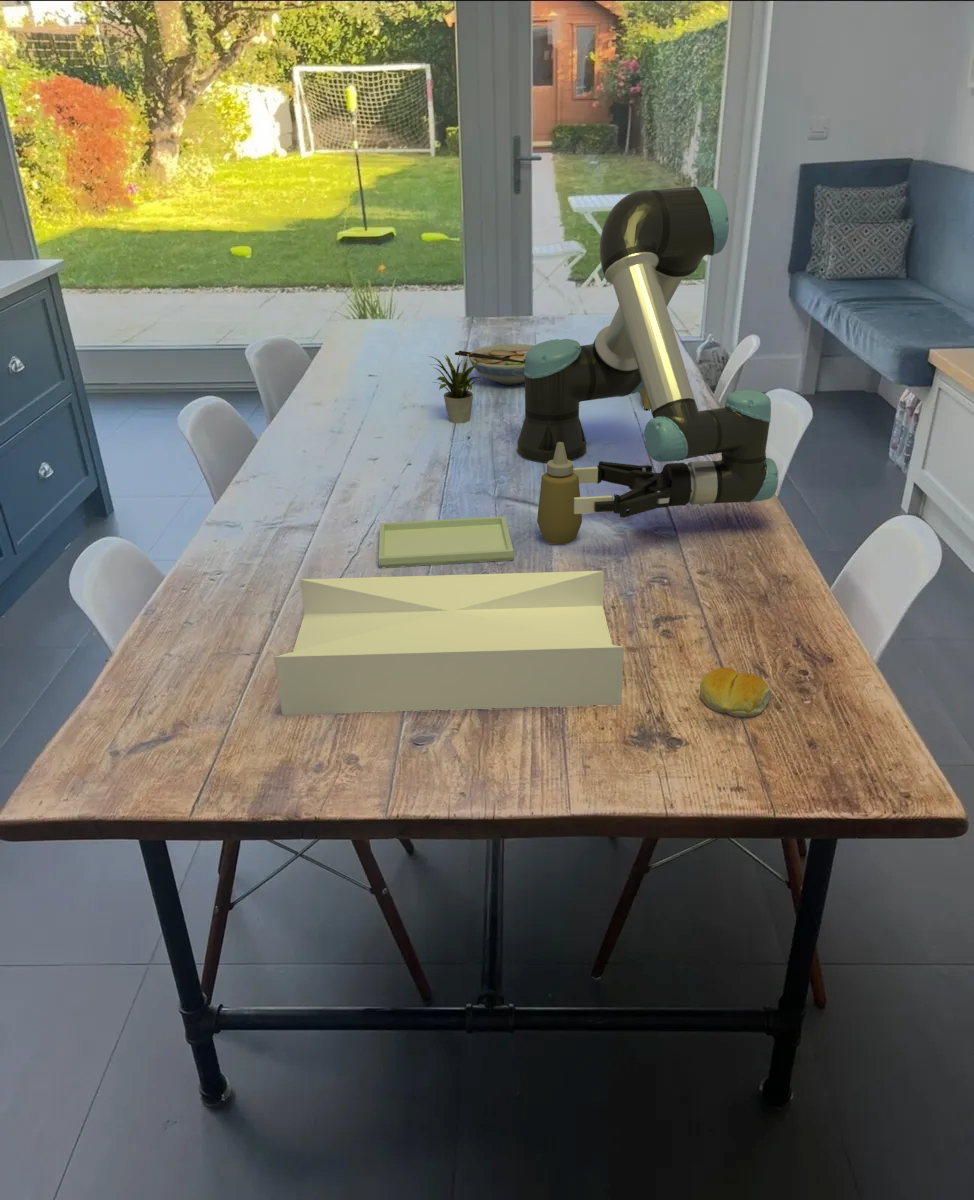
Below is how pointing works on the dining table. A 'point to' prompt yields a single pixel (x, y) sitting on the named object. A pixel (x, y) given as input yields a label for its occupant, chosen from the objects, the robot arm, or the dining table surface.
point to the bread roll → (735, 692)
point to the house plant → (458, 391)
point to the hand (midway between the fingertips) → (567, 490)
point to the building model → (451, 644)
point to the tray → (444, 542)
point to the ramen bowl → (500, 362)
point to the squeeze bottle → (559, 500)
